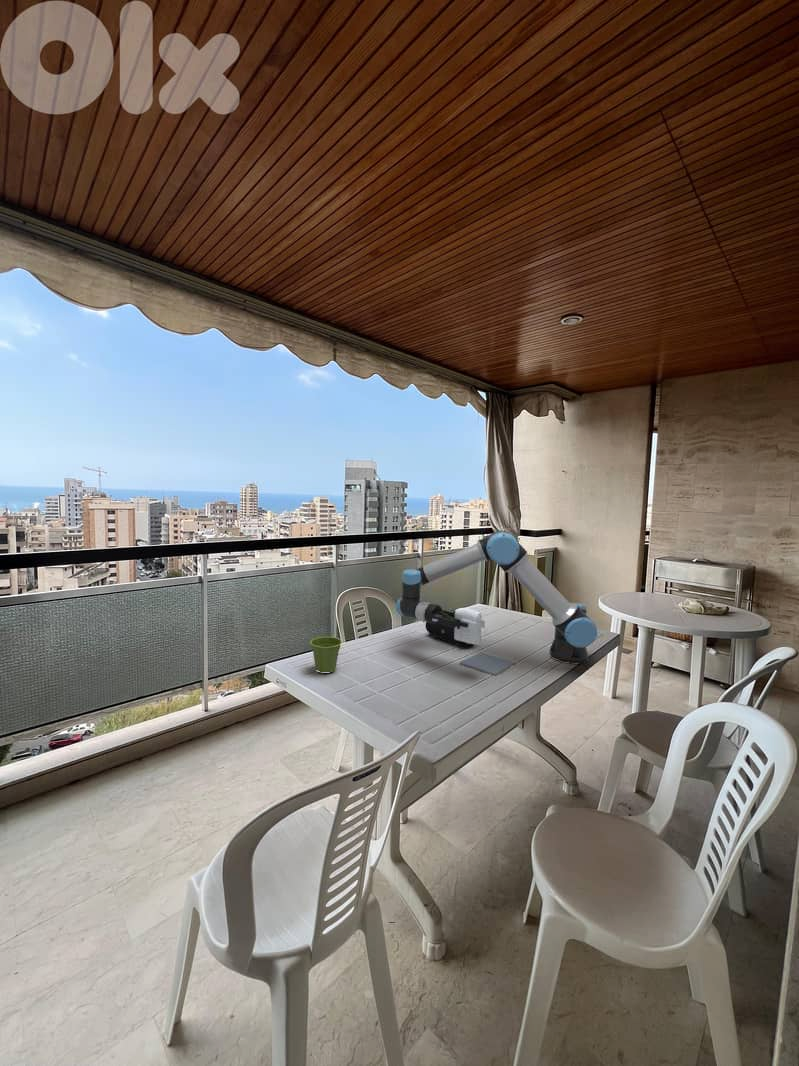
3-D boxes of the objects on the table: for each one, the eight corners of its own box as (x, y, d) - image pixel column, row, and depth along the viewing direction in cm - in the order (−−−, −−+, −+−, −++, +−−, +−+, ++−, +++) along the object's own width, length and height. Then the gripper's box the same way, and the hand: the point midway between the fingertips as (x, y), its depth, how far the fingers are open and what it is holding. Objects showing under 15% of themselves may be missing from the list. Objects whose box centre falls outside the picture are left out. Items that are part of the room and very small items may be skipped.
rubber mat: (515, 664, 173) (515, 662, 173) (495, 676, 162) (495, 674, 162) (481, 654, 184) (481, 652, 184) (459, 664, 172) (459, 662, 172)
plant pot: (325, 680, 155) (325, 649, 154) (303, 671, 162) (303, 642, 161) (348, 670, 165) (348, 640, 164) (326, 662, 172) (326, 634, 171)
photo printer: (482, 643, 159) (483, 609, 158) (477, 646, 156) (477, 612, 155) (458, 637, 166) (459, 605, 165) (452, 640, 162) (452, 607, 161)
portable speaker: (423, 636, 207) (424, 615, 206) (438, 632, 213) (439, 612, 212) (463, 651, 187) (464, 629, 186) (478, 647, 193) (479, 625, 192)
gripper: (442, 617, 179) (492, 630, 163) (415, 627, 166) (466, 641, 150) (443, 600, 178) (493, 610, 163) (415, 607, 165) (467, 620, 150)
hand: (480, 625), depth 157 cm, fingers closed on photo printer, 4 cm apart
